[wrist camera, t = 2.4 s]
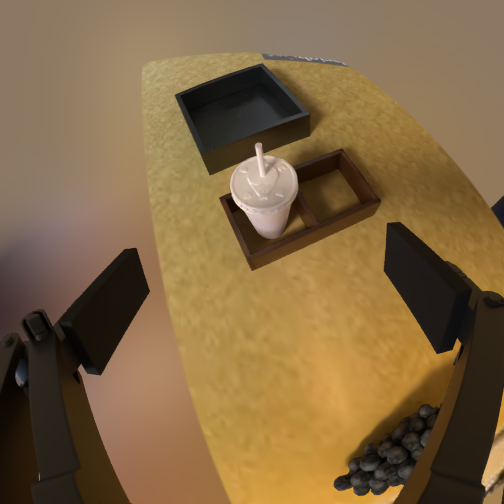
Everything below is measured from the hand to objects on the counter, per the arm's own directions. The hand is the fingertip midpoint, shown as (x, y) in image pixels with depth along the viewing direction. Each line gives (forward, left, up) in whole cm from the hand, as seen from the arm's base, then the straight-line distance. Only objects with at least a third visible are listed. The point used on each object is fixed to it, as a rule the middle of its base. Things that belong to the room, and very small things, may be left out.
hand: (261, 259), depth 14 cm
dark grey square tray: (+28, -7, -18) cm, 34 cm away
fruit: (-21, -5, -18) cm, 28 cm away
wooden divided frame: (+10, -8, -18) cm, 22 cm away
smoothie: (+10, -4, -18) cm, 21 cm away
